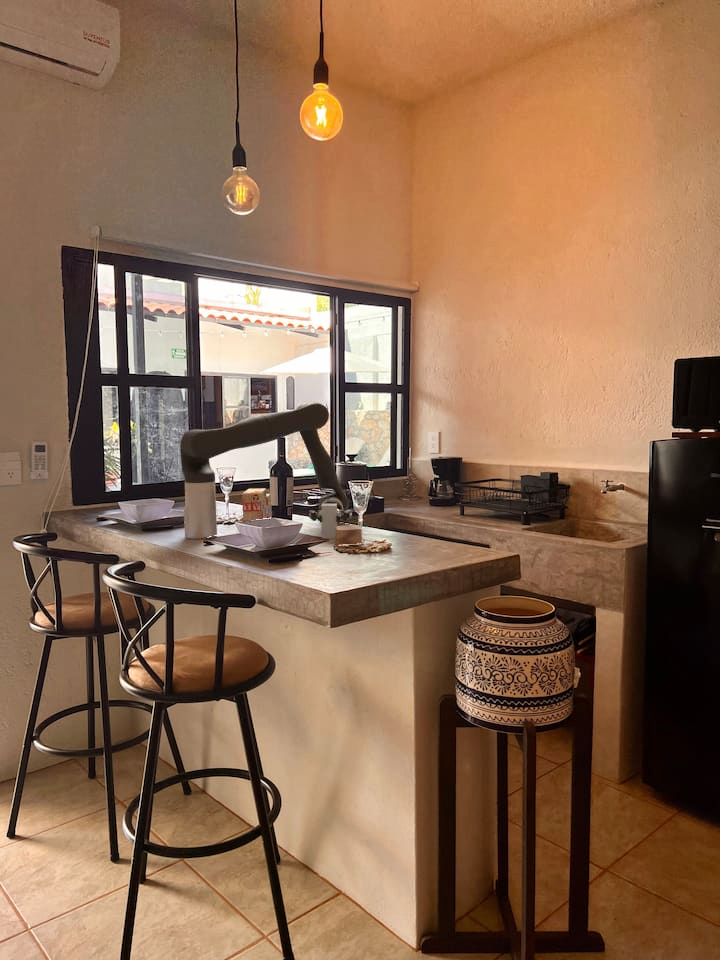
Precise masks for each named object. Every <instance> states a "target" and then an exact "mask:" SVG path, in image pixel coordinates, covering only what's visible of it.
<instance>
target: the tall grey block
mask: <svg viewBox="0 0 720 960" xmlns="http://www.w3.org/2000/svg"><path fill="white" fill-rule="evenodd" d="M321 507H322V522H321V538H322V537H326V538H325V539H336V528H335V526H338V522H336V515H337V504H322V506H321Z"/></svg>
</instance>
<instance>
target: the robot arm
mask: <svg viewBox="0 0 720 960" xmlns="http://www.w3.org/2000/svg"><path fill="white" fill-rule="evenodd" d="M329 418H330V412H329V410H328V408H327V407H326V405H324V404H322V403H320V402H309V403H308V402H307V403H304V404H300V405H298V406H297V407H296V409H291V410H288V411H278V412H269V413H263V414H259V415H254V416H249V417H246V418H244V419H242V420H240V421H238V422H236V423H234V424H233V425H230V426H226V427H221V428H213V429H190V430H188V431H186V432H185V433H184V434H183V435H182V437H181V439H180V445H179V446H180V447H179V449H180V450H179V452H180V462H181V463H180V464H181V465H180V466H181V470H182V471H181V472H182V474H183V477H184V495H185V496H184V498H185V501H184V502H185V506H184V507H183V520H184V521H183V522H184V523H183V524H184V538H185V539H194V540H195V539H196V540H197V539H199V540H201V538H204V537H209V536H214V535H217V536H218V526H217V523H218V522H217V521H218V520H217V518H218V517H217V496H216V495H217V494H216V472H215V471H214V470H213V469H212V467H211V465H210V459H213V458H216V457H217V456H220V455H223V454H226V453H228V452H230V451H232V450H233V451H234V450H236V449H244V448H245V449H246V448H250V447H254V446H260V445H263V444H267V443H269V442H272V441H276V440H279V439H281V438H285V437H287V436H290V435H292V434H294V433H297V432H298V433H299V435H300V436H301V438H302V441H303V443H304V446H305V447H306V450H307V452H308V455H309V457H310V460H311V464H312V467H313V470H314V475H315V477H316V481H317V485H318V487H319V489H321V490H333V491H334V493H330V494H326V495H323V496H321V497H319V500H318V508H319V510H317V512H316V510H313V509H310V510H309V511H308V512H309V514H308V515H309V519H310V520H311V521H314V522H316V521H317V522H319V523H322V507H321V506H322V504H337V515H336V522H337V523H339V522H340V521H342V520H343V521H348V520H350V519H352V517H353V514H352V513H353V511H352V509H349V507H350V501H349V499H348V496H347V494H346V492H345V491H344V489H343V488H342V486H341V485H340V481H339V480H338V476H337V473H336V469H335V465H334V462H333V460H332V457H331V456H330V454H329V453H328V451H327V450H326V448H325V447H324V445H323V444H322V441H321V439H320V436H319V431H318V430H320V429H322V428H323V427H325V425H326V424H327V423H328V421H329ZM204 539H205V538H204Z"/></svg>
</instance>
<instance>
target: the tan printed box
mask: <svg viewBox="0 0 720 960" xmlns="http://www.w3.org/2000/svg"><path fill="white" fill-rule="evenodd" d="M241 495H242V496H241V497H242V523H243V522H247V521H251V520H256V519H263V518H270V517H271V518H272V502H271V493H267V488H266V487H265V488H248V489H246V490H245V491H243V492H242V494H241Z"/></svg>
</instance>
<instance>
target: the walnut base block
mask: <svg viewBox="0 0 720 960" xmlns="http://www.w3.org/2000/svg"><path fill="white" fill-rule="evenodd" d="M335 528H336V538H335V544H336V543H337V544H336V546H337V545H339V544H357V543H363V542H362V541H363V531H362V527H361V526H360V525H359V524H355V525H354V524H351V525H350V524H349V525H337V526H335Z"/></svg>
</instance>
